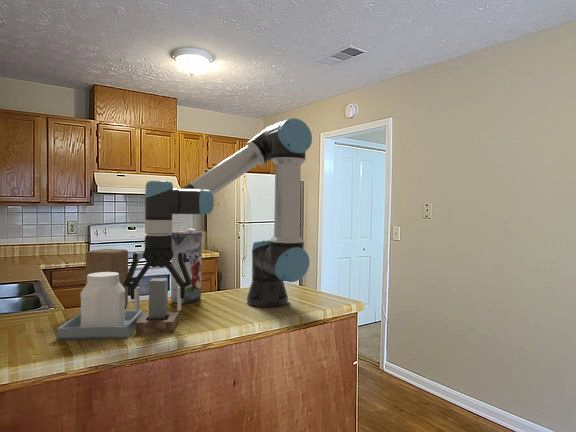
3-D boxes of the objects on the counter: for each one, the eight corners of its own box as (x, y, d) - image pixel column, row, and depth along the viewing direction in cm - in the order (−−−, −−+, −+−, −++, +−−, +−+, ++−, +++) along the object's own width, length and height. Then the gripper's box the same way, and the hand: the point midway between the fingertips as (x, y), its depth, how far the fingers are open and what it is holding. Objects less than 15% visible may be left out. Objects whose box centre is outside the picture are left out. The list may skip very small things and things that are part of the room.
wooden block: (111, 313, 130) (111, 252, 129) (84, 311, 132) (84, 251, 131) (129, 306, 140) (129, 249, 139) (103, 304, 142) (104, 248, 141)
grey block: (167, 325, 118) (167, 278, 118) (164, 329, 114) (165, 280, 113) (152, 325, 118) (152, 278, 117) (148, 330, 113) (149, 281, 113)
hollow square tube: (178, 322, 121) (178, 312, 121) (173, 332, 111) (173, 321, 111) (144, 323, 120) (144, 313, 120) (135, 333, 110) (135, 322, 110)
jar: (120, 319, 121) (120, 270, 121) (128, 327, 113) (129, 274, 113) (77, 325, 114) (77, 273, 114) (83, 334, 106) (84, 278, 106)
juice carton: (167, 302, 146) (167, 228, 145) (185, 296, 155) (185, 227, 155) (187, 305, 142) (188, 229, 142) (204, 299, 152) (205, 228, 151)
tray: (142, 319, 124) (142, 309, 123) (127, 338, 106) (127, 326, 106) (82, 320, 121) (82, 311, 121) (56, 340, 104) (56, 328, 104)
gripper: (201, 233, 120) (200, 306, 121) (119, 233, 117) (119, 307, 118) (199, 235, 113) (198, 312, 113) (111, 235, 110) (111, 314, 110)
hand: (158, 310), depth 115 cm, fingers open, 11 cm apart
